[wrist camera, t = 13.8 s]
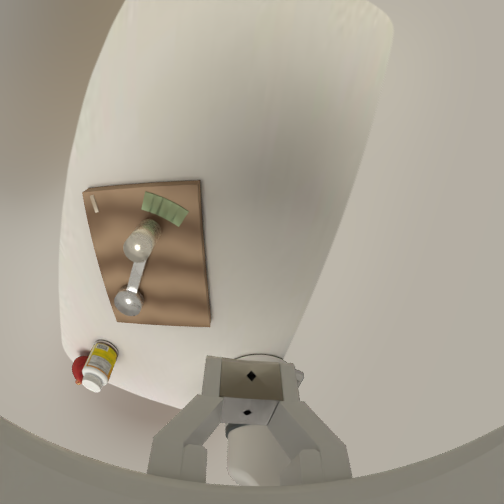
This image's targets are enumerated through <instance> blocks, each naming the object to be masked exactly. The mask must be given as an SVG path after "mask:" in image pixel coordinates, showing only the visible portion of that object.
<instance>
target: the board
mask: <svg viewBox="0 0 504 504" xmlns="http://www.w3.org/2000/svg"><path fill="white" fill-rule="evenodd" d="M82 194H83V199H84V205H85V210H86V215H87V219H88V224H89V228H90V233H91V237H92V241H93V245H94V249H95V253H96V257H97V260H98V264H99V267H100V271H101V274H102V278H103V281H104V284H105V288H106V291H107V294H108V297H109V300H110V303H111V306H112V309H113V312H114V314H115V317H116V320H117V322H124V323H137V324H151V325H169V326H192V327H210V323H211V313H210V304H209V294H208V284H207V273H206V262H205V250H204V237H203V223H202V208H201V191H200V180H198V181H173V182H155V183H140V184H127V185H115V186H105V187H95V188H88V189H87V190H85V191H84V192H82ZM145 219H152V220H154V221H156V222H157V223H158V224H159V226H160V228H161V236H160V238H159V239H158V241H157V243H156V245H155V246H154V248H153V250H152V252H151V253H150V255H149V257H148V259H147V262H146V265H145V269H144V272H143V275H142V279H141V282H140V285H139V289H138V291H139V292H140V293H141V294H142V296H143V298H144V304H143V306H142V308H141V311H140V313H139V314H138V315H136V316H127V315H124V314H123V313H121V312H120V311H119V310H118V309H117V308H116V306H115V304H114V299H115V297H116V295H117V293H118V291H119V290H120V289H121V288H122V287H125V286H128V282H129V278H130V274H131V271H132V267H133V263H134V262H133V261H131V260H130V259H128V258H127V257H126V255H125V253H124V250H123V245H124V243H125V241H126V240H127V239H128V237H129V236H130V235H131V233H132V232H133V231H134V230H135V228H136V227H137V226H138V225H139V223H140V222H141V221H142V220H145Z"/></svg>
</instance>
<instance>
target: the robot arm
mask: <svg viewBox="0 0 504 504" xmlns="http://www.w3.org/2000/svg"><path fill="white" fill-rule="evenodd" d="M303 378H304V373H303V372H301V371H299V370H296V369H295V367H294V364H293V363H287V362H286V361H284V360H282V359H280V358H277V357H274V356H268V355H250V356H244V357H241V358H238V359H230V358H223V357H215V356H207V358H206V363H205V371H204V380H203V388H202V395H198V394H197V395H196V396H195V397H194V398H193V399H192V400H191V401H190V402H189V403H188V404H187V405H186V406H185V407H184V408H183V409H182V410H181V411H180V412H179V413H178V414H177V415H176V416H175V417H174V418H173V419H172V420H171V421H170V422H169V423H168V424H167V425H166V426H165V427H163V428H162V429H161V430H160V431H159V432H158V433H157V434H156V435H155V436H154V437H153V443H152V448H151V453H150V458H149V464H148V470H147V474H145V473H142V472H137V471H133V470H129V469H126V468H121V467H118V466H114V465H111V464H108V463H105V462H102V461H99V460H96V459H93V458H89V457H87V456H84V455H81V454H79V453H76V452H73V451H71V450H68V449H66V448H63V447H61V446H59V445H56V444H54V443H52V442H49V441H47V440H45V439H43V438H41V437H39V436H37V435H35V434H33V433H31V432H29V431H27V430H25V429H23V428H21V427H19V426H17V425H16V424H14V423H12V422H10V421H9V420H7V419H5V418H4V417H2V416H0V504H504V426H501V427H499V428H497V429H495V430H493V431H491V432H489V433H488V434H486V435H484V436H482V437H479V438H477V439H475V440H473V441H471V442H469V443H467V444H465V445H462V446H460V447H457V448H455V449H452V450H450V451H448V452H445V453H442V454H440V455H437V456H434V457H432V458H428V459H426V460H423V461H420V462H417V463H413V464H410V465H407V466H403V467H400V468H396V469H392V470H388V471H384V472H380V473H376V474H371V475H367V476H361V477H356V478H352V473H351V468H350V463H349V458H348V453H347V449H346V445H345V444H344V443H343V442H342V441H341V440H340V439H339V438H338V437H337V436H336V435H335V434H334V433H333V432H332V431H331V430H330V429H329V428H328V426H327V425H326V424H325V423H324V422H323V421H322V420H321V419H320V418H319V417H318V416H317V415H316V414H315V413H314V412H313V411H312V410H311V408H309V406H308V405H307V404H306V403H305V402H302V401H301V402H300V398H299V391H298V387H299V385H300V384H301V382H302V380H303ZM220 423H226V424H225V431H226V437H227V439H228V449H227V471H228V474H229V475H230V477H231V478H232V479H233V480H234V481H235V482H236V483H238V484H239V485H241V486H233V485H219V484H207V483H206V466H207V449H206V448H205V447H203V446H202V445H203V444H204V442H205V441H206V440H207V439H208V437H209V436H210V435H211V434H212V432H213V431H214V430H215V429H216V427H217V426H218V425H219V424H220Z"/></svg>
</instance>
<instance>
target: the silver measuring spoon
mask: <svg viewBox="0 0 504 504" xmlns="http://www.w3.org/2000/svg"><path fill="white" fill-rule="evenodd" d="M160 236H161V228H160V226H159V224H158V223H157V222H156V221H154V220H152V219H145V220H142V221H141V222H140V223H139V225H138V226H137V227H136V228H135V230H134V231H133V232H132V233H131V235H130V236H129V237H128V239H127V240H126V241H125V243H124V245H123V250H124V253H125V255H126V257H127V258H128V259H130V260H131V261H133V262H134V263H133V267H132V271H131V274H130V278H129V282H128V286H125V287H122V288H121V289H120V290H119V291H118V293H117V295H116V297H115V299H114V304H115V306H116V308H117V309H118V310H119V311H120V312H121V313H123V314H124V315H127V316H136V315H138V314H139V313H140V311H141V308H142V306H143V304H144V298H143V296H142V294H141V293H140V292H139V291H138V289H139V285H140V282H141V279H142V275H143V272H144V269H145V265H146V262H147V259H148V257H149V255H150V253H151V252H152V250H153V248H154V246H155V245H156V243H157V241H158V239H159V238H160Z"/></svg>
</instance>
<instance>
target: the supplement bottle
mask: <svg viewBox="0 0 504 504" xmlns="http://www.w3.org/2000/svg"><path fill="white" fill-rule="evenodd" d="M117 357H118V352H117V349H116V348H115V347H114V346H113V345H112V344H110V343H109V342H106V341H102V340H100V341H97V342H95V344H94V346H93V348H92V350H91V352H90V354H89V356H88V359H87V361H86V363H85V365H84V367H83V370H82V374H83V376H84V377H83V380H82V384H83V385H84V386H85V387H86V388H87V389H89V390H91V391H93V392H100V391H101V388H102V386H105V385H106V384H107V383H108V381H109V378H110V375H111V373H112V370H113V367H114V365H115V362H116V359H117Z"/></svg>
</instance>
